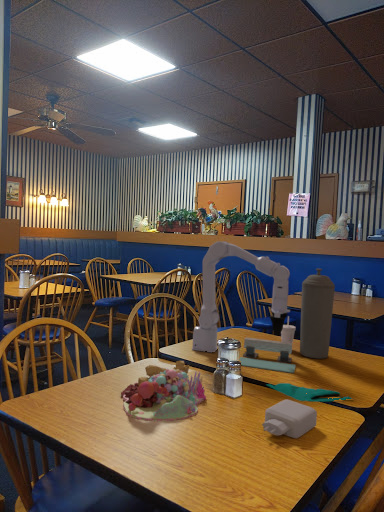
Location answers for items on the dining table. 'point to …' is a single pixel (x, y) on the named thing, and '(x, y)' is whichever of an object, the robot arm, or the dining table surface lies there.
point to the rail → (268, 345)
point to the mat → (267, 365)
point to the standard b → (284, 357)
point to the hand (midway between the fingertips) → (277, 333)
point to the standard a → (250, 353)
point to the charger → (289, 419)
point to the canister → (316, 315)
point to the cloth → (301, 392)
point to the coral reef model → (164, 394)
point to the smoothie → (288, 333)
